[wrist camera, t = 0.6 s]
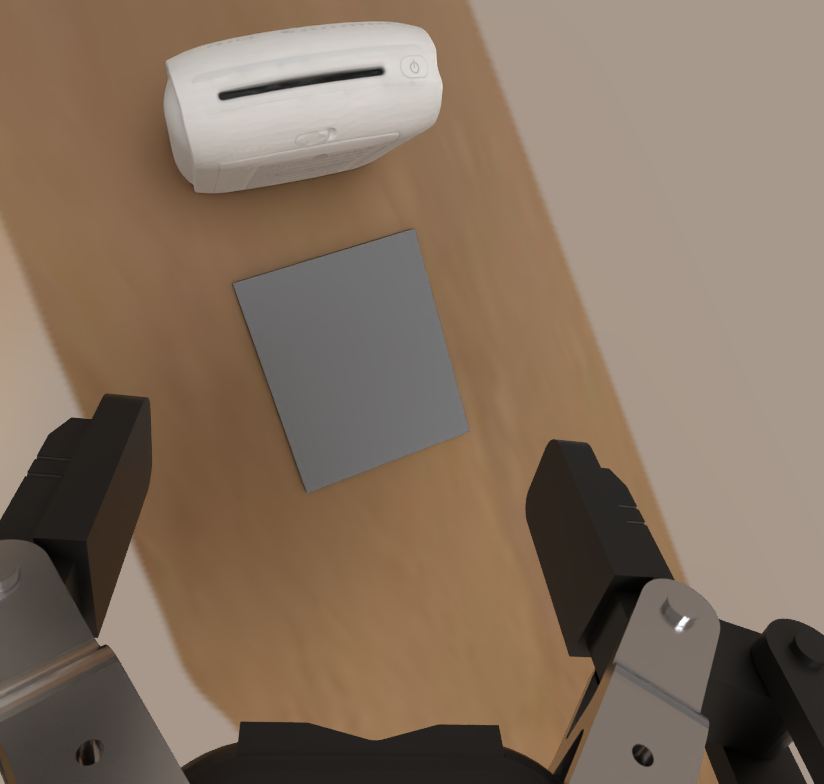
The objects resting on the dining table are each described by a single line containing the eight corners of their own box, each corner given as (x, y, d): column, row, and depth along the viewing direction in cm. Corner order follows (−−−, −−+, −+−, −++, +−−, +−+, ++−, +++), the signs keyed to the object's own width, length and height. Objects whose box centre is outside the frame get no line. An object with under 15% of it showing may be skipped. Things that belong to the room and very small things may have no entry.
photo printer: (366, 81, 34) (450, -13, 22) (384, 167, 35) (472, 121, 23) (161, 112, 31) (135, 25, 20) (186, 203, 32) (176, 172, 21)
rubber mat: (232, 283, 34) (232, 283, 33) (411, 229, 36) (414, 228, 35) (305, 490, 37) (307, 493, 36) (465, 428, 39) (469, 431, 39)
